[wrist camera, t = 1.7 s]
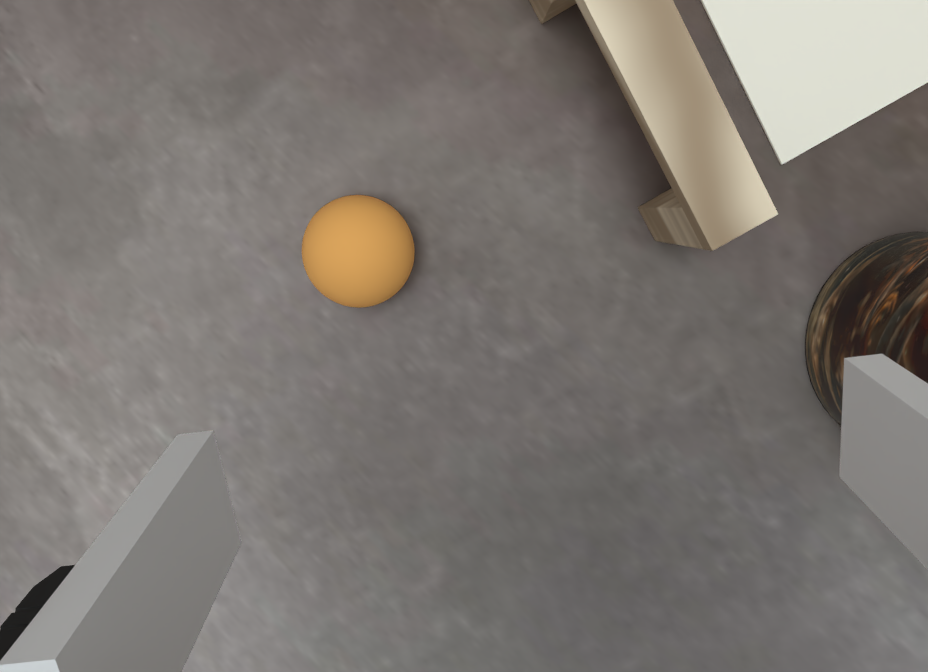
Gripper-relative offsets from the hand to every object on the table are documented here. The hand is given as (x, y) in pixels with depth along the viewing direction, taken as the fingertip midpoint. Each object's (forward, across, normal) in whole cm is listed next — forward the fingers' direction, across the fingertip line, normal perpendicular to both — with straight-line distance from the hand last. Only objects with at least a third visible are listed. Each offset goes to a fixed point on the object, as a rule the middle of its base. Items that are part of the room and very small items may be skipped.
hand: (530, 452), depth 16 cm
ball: (+23, +6, 0) cm, 24 cm away
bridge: (+26, -7, -5) cm, 28 cm away
